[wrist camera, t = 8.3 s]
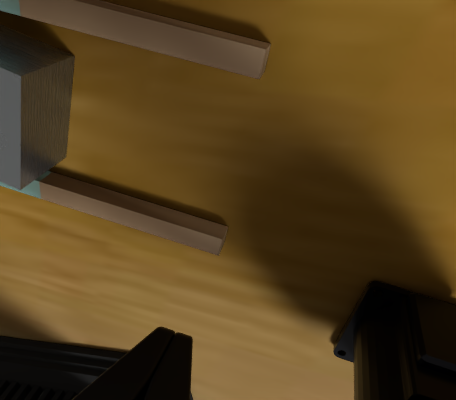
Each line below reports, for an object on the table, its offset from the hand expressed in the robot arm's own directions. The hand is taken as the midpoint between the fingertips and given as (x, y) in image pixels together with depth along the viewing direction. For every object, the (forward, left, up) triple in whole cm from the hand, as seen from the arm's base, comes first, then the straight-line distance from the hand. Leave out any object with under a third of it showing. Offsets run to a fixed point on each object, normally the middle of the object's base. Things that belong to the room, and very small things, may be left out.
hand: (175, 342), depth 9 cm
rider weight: (-1, +13, -12) cm, 18 cm away
